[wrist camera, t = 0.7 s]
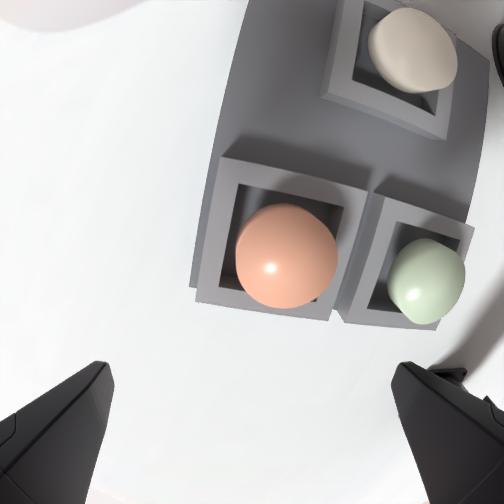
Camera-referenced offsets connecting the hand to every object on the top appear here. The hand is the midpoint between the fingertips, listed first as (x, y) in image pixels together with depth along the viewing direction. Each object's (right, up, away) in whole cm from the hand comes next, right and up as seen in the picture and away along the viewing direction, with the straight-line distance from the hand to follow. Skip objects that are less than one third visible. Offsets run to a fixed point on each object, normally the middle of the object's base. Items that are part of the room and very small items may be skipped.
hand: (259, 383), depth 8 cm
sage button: (+9, +3, +7) cm, 11 cm away
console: (+6, +10, +9) cm, 15 cm away
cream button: (+7, +13, +3) cm, 16 cm away
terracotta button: (+1, +4, +6) cm, 7 cm away
